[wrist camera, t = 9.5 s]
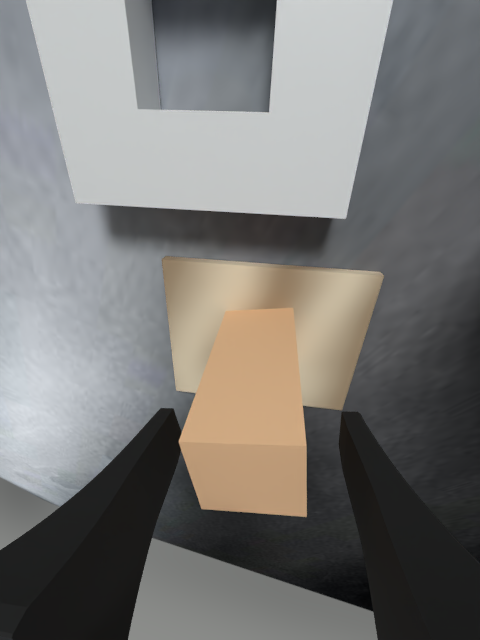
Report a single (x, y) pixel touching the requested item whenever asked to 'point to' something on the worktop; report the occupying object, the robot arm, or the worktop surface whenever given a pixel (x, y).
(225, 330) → the plug
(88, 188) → the white square socket board
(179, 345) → the board
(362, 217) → the worktop surface
